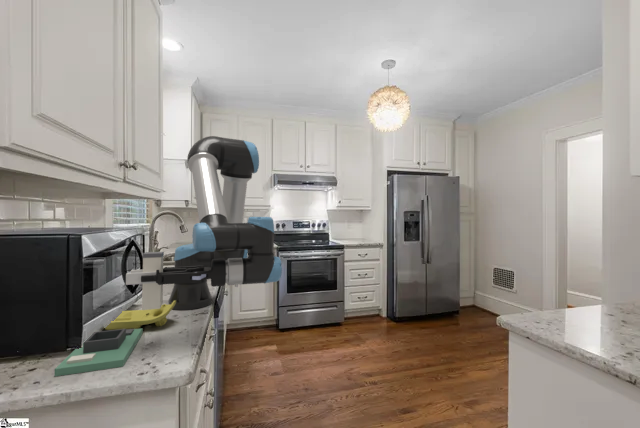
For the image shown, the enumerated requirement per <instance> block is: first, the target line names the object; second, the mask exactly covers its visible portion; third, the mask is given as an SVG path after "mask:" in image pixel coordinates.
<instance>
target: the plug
mask: <svg viewBox="0 0 640 428" xmlns="http://www.w3.org/2000/svg"><path fill="white" fill-rule="evenodd" d="M164 252H165V251H148V252H147V251H146V252H144V253H143V254H142V270H143V272H156V270H159V272H160V273H161V272H163V268H164V256H165V254H164ZM141 285H142V288H141V289H142V292H141V293H142V296H141V297H142V298H141V310H150V309H160V308H161V306H162V305H163V304H164V303H163V293H164V292H163V291H164V284H162V285H158V283H148V284H141Z"/></svg>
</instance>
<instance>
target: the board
mask: <svg viewBox="0 0 640 428" xmlns="http://www.w3.org/2000/svg"><path fill="white" fill-rule="evenodd" d="M143 330H144V329H143V328H141V327H140V328H138V329H118V330H101V331H94V332H93V333H91V334H92V335H91V334H90V335H91V336H90V335H89V336H90V337H89V336H88V337H89V338H88V337H87V338H88V339H87V338H86V339H87V340H86V339H85V340H86V341H85V340H84V341H85V342H84V341H83V342H84V343H83V347H82V348H79V349H76V348H75V349H74V350H73V351H72V352H71V353H69V355H68V356H67V357H66V358H64V360H62V361H61V362H60V363H59V364H58V365H57V366H56V367H55V368H54V377H60V376H61V375H62V376H67V375H74V374H81V373H88V372H96V371H101V370H102V371H103V370H108V369H109V370H110V369H115V368H122V367H124V366H125V364H126V363H127V361H128V359H129V357H130V355H132V353H133V350H134V349H135V347H136V346H137V343H138V342H139V341H140V339H141V337H142V335H143V333H144V332H143Z"/></svg>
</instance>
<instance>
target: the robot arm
mask: <svg viewBox="0 0 640 428" xmlns="http://www.w3.org/2000/svg"><path fill="white" fill-rule="evenodd" d="M259 166H260V155H259V151H258V148H257V146H256V144H254V143H253V142H251V141H247V140H243V139H237V138H236V139H235V138H230V137H229V138H228V137H220V136H215V135H211V136H206V137H203V138H200V139H199V140H198V141H196V142H195V143H194V144H193V145H191V148H190V150H189V151H188V154H187V168H188V170H189V171H190V172H191V173H192V180H193V186H194V187H193V188H194V192H195V193H194V194H195V201H196V207H197V208H196V209H197V216H198V223H195V224H194V225H193V227H192V234H191V236H192V237H191V238H192V243H188V244H183V245H180V246H178V247H176V248H175V251H174V258H173V261H174V266H170V267H168V266H165V267H163V272H161V273H160V272H159V270H156V272H143V269H131V270H130V272H127V273H125V286H128V285H132V286H133V285H143V284H148V283H158V285H162V284H163V285H173V288H172V290H171V293H170V295H169V299H168V303H167V305H169V304H172V302H173V301H176V304H175V306H174V307H173V309H172V310H175V311H176V310H177V311H187V310H195V309H201V308H204V307H207V306H209V305H210V304H212V294H211V292H210V288H209V285H208V280H210V286H211V287H212V288H213V287H224V286H225V285H226V284H227V286H234V287H235V288H238V287H239V285H240V286H241V285H255V284H264V285H265V284H270V283H276V282H279V281H280V280H281V278H282V273H283V272H282V271H283V266H282V260H281V257H279V256H276V255H275V253H274V251H275V248H274V246H275V245H274V244H275V243H274V242H275V223H274V219H273V218H272V217H271V216H250V217H248V218H247V222H243V221H244V211H245V205H246V204H245V203H246V196H247V195H246V194H247V188H248V187H247V186H248V182H249V181H250V180H251V179H252V178H253V174H256V173H257V172H258V170H259ZM218 170H219V171H220V173H219V175H220V176H221V177H222V178H223V185H222V187H223V188H222V187H221V184H220V179H219V175H218ZM221 188H222V189H223V190H222V189H221Z"/></svg>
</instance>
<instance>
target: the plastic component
mask: <svg viewBox="0 0 640 428" xmlns="http://www.w3.org/2000/svg"><path fill="white" fill-rule="evenodd" d="M175 304H176V301H173V302H172V304H169V305H168V304H166V303H162V306H161V308H160V309H150V310H142V309H137V310H136V309H135V310H134V309H133V310H124V311H122V313H121V314H120V315H119V316H118V317H117V318H116V319H115V320H114V321H111V323H110V324H109V325H108V326H107V327H106V328H105V329H104V330H105V331H108V330H118V329H126V330H127V329H141V327H142V326H143V325H149V324H154V325H155V326H156V327H159V326H160V327H162V326H164V325H166V323H167V322H168V319H167V316H168V315H169V314H170V313H171V311H172V310H174V309H173V307H174V306H175Z"/></svg>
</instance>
